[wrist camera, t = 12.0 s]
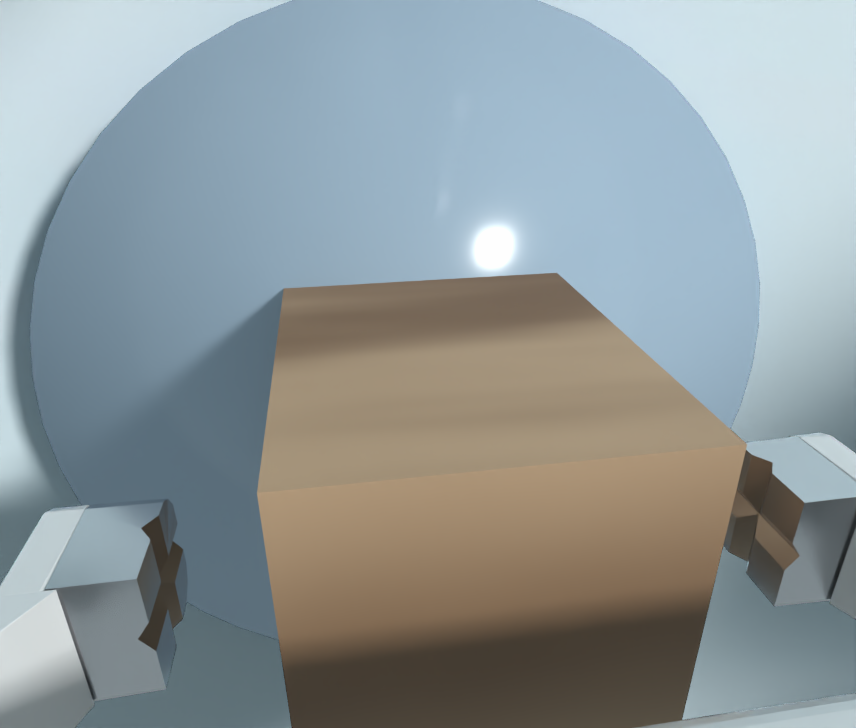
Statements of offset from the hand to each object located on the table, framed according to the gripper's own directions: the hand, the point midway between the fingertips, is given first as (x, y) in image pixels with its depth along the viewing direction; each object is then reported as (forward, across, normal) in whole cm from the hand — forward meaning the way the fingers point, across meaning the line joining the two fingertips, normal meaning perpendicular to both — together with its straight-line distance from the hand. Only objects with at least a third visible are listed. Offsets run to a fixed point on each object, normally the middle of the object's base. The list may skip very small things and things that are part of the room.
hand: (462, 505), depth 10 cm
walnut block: (+4, 0, 0) cm, 4 cm away
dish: (+5, 0, 0) cm, 5 cm away
